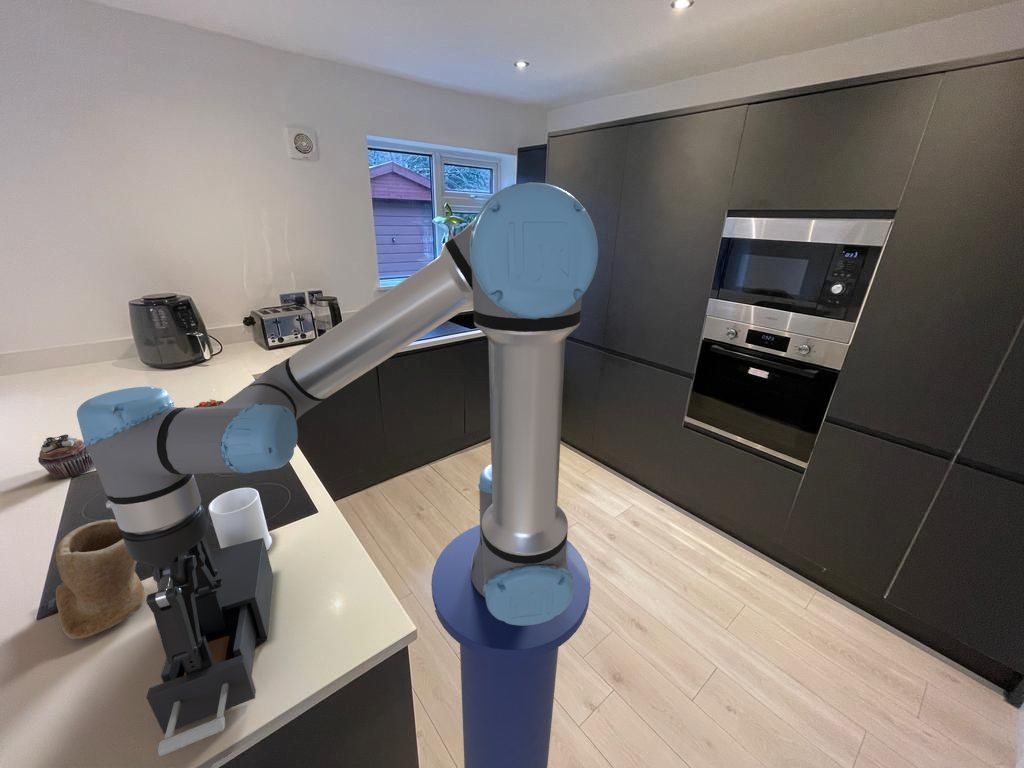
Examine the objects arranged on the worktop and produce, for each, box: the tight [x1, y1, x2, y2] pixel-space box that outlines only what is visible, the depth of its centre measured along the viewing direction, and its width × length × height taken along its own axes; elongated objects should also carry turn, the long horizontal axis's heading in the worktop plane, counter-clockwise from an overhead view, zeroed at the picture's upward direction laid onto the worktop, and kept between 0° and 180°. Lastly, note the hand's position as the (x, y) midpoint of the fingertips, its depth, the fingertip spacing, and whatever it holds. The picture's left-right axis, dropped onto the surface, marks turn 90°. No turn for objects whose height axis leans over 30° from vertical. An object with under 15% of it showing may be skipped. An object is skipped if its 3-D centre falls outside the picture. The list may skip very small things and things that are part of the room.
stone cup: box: [55, 518, 145, 640], centre depth 66 cm, size 15×12×15 cm
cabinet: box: [178, 538, 274, 644], centre depth 65 cm, size 14×11×9 cm
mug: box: [208, 487, 273, 551], centre depth 80 cm, size 12×8×12 cm
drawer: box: [146, 603, 257, 757], centre depth 54 cm, size 18×10×7 cm, turn 26°
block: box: [184, 635, 235, 676], centre depth 55 cm, size 4×4×4 cm
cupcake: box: [37, 434, 95, 480], centre depth 103 cm, size 10×10×10 cm
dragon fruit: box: [193, 398, 225, 408], centre depth 130 cm, size 8×8×12 cm
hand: (210, 652), depth 55 cm, fingers open, 7 cm apart
